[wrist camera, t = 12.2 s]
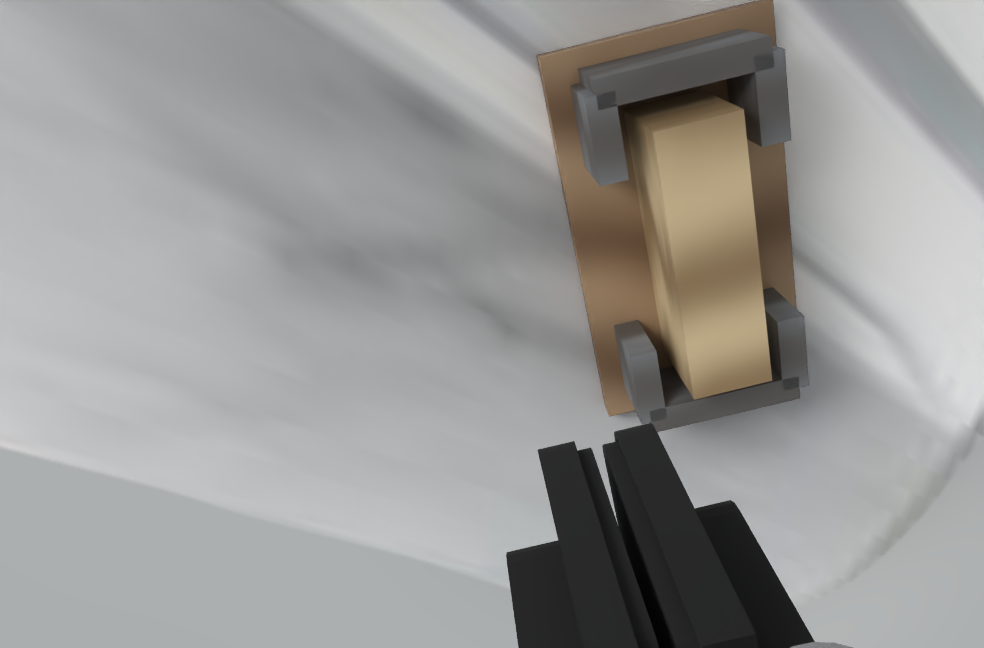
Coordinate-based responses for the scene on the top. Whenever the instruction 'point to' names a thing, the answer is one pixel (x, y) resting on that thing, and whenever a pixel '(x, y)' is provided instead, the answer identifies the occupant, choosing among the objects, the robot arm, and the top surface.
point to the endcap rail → (616, 211)
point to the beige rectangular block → (701, 239)
